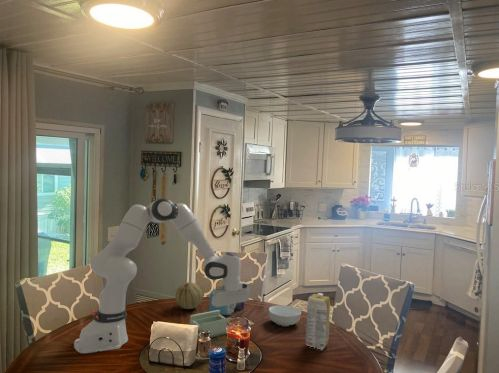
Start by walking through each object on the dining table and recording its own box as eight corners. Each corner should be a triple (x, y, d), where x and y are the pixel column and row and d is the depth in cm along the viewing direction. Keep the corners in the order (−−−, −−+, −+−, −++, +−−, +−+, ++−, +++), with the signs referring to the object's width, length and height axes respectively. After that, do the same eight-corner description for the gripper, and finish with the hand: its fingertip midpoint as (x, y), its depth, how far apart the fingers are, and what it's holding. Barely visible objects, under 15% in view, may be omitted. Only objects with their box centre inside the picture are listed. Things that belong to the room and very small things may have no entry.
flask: (227, 309, 224) (228, 290, 223) (227, 307, 226) (228, 289, 226) (243, 310, 224) (244, 291, 223) (243, 308, 227) (244, 289, 226)
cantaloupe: (202, 304, 231) (203, 278, 230) (201, 313, 216) (201, 286, 215) (176, 303, 230) (177, 278, 229) (173, 312, 215) (174, 285, 214)
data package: (231, 312, 219) (232, 290, 219) (231, 315, 215) (232, 293, 214) (209, 311, 219) (210, 290, 219) (209, 314, 215) (209, 292, 214)
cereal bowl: (306, 328, 202) (307, 314, 201) (276, 331, 196) (277, 317, 195) (290, 316, 217) (291, 303, 217) (263, 319, 211) (263, 306, 211)
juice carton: (329, 345, 182) (331, 294, 181) (323, 352, 175) (326, 298, 174) (310, 340, 187) (312, 290, 186) (303, 346, 180) (306, 294, 179)
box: (202, 339, 183) (202, 324, 183) (189, 329, 194) (190, 315, 194) (231, 332, 192) (232, 318, 192) (218, 323, 203) (218, 309, 203)
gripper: (216, 289, 190) (215, 318, 191) (251, 284, 202) (250, 310, 202) (209, 286, 195) (209, 314, 196) (244, 280, 207) (243, 307, 207)
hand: (230, 312), depth 199 cm, fingers closed
